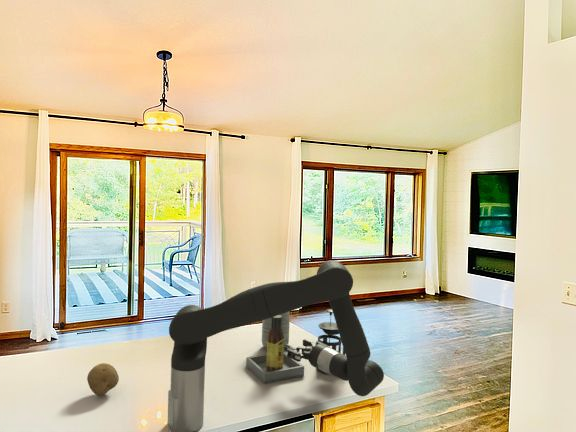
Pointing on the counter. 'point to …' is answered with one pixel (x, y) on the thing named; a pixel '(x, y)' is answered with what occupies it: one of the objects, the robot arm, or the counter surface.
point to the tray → (287, 372)
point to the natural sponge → (102, 379)
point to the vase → (284, 325)
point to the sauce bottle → (275, 345)
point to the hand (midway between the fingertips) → (294, 344)
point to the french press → (330, 335)
